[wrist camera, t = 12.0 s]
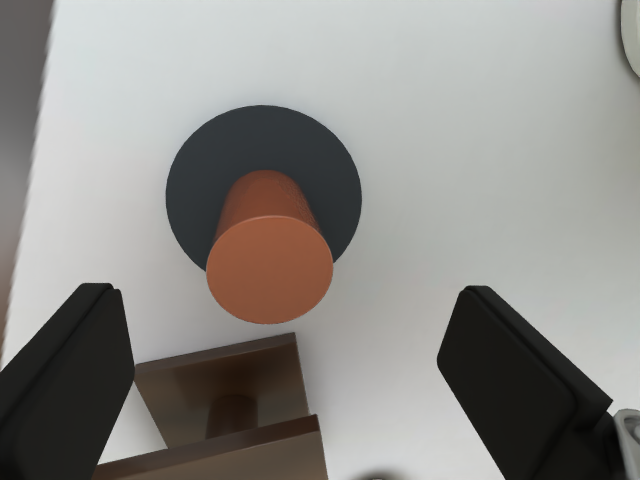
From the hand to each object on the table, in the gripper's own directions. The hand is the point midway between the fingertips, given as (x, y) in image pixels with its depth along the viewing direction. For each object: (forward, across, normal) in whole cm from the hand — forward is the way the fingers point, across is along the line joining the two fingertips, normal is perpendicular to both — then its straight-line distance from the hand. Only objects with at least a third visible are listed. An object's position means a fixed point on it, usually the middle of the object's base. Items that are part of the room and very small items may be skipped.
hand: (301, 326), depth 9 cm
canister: (+10, +1, +1) cm, 11 cm away
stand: (+11, +3, +16) cm, 20 cm away
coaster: (+11, +1, 0) cm, 11 cm away
